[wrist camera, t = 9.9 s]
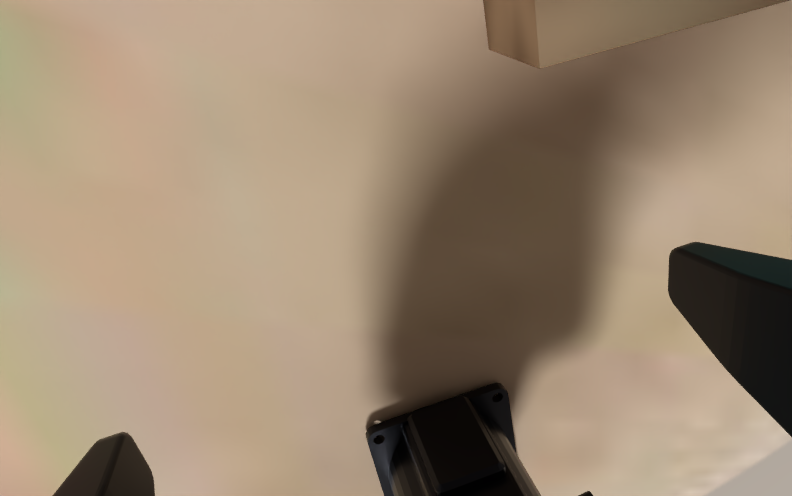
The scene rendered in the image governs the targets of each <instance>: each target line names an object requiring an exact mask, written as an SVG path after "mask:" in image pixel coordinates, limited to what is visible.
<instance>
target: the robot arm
mask: <svg viewBox="0 0 792 496" xmlns="http://www.w3.org/2000/svg"><path fill="white" fill-rule="evenodd" d="M668 292H669V296H670V298H671V300H672V302H673V304H674V305H675V306H676V308H677V309H678V310H679V311H680V313H681V314H682V315H683V316H684V318H685V319H686V320H687V321H688V323H689V324H690V325H691V326H692V328H693V329H694V330H695V331H696V333H697V334H698V335H699V336H700V338H701V339H702V340H703V341H704V343H705V344H706V345H707V347H708V348H709V349H710V350H711V352H712V353H713V354H714V355H715V357H716V358H717V359H718V360H719V361H720V363H721V364H722V365H723V366H724V367H725V369H726V370H727V371H728V372H729V373H730V374H731V375H732V376H733V377H734V378H735V379H736V381H737V382H738V383H739V384H740V385H741V386H742V387H743V388H744V389H745V390H746V391H747V392H748V393H749V394H750V395H751V396H752V397H753V398H754V399H755V400H756V401H757V402H758V403H759V404H760V405H761V406H762V407H763V408H764V409H765V410H766V411H767V412H768V413H769V414H770V415H771V416H772V417H773V418H774V419H775V420H776V421H777V422H778V424H779V425H780V426H781V427H782V428H783V429H784V430H785V431H786V432H787V433H788V434H789V435H790V436H791V437H792V260H789V259H784V258H778V257H773V256H768V255H763V254H758V253H752V252H747V251H742V250H737V249H731V248H726V247H721V246H716V245H711V244H705V243H700V242H692V243H689V244H686V245H683V246H680V247H677V248H675V249H673V250H672V251H671V253H670V256H669V278H668ZM497 393H498V394H497ZM495 394H497V395H496V396H494V395H495ZM378 435H381V436H380V437H377V438H375V437H376V436H378ZM366 438H367V442H368V445H369V448H370V451H371V455H372V458H373V461H374V464H375V467H376V471H377V474H378V477H379V480H380V483H381V487H382V490H383V493H384V496H541V495H540V493H539V491H538V490H537V488H536V486H535V485H534V483H533V481H532V479H531V478H530V476H529V474H528V473H527V471H526V469H525V468H524V466H523V464H522V462H521V461H520V459H519V457H518V456H517V454H516V448H515V441H514V434H513V427H512V419H511V412H510V405H509V398H508V393H507V391H506V389H505V388H504V386H503V385H502V384H500V383H493V384H490V385H487V386H485V387H482V388H479V389H476V390H473V391H470V392H467V393H465V394H462V395H459V396H456V397H453V398H450V399H447V400H445V401H442V402H439V403H436V404H433V405H430V406H427V407H425V408H422V409H419V410H416V411H413V412H410V413H407V414H405V415H402V416H399V417H396V418H393V419H390V420H387V421H385V422H382V423H379V424H376V425H374V426H372V427H370V428H369V429H368V430H367V432H366ZM53 496H155V491H154V480H153V475H152V472H151V469H150V467H149V465H148V464H147V462H146V460H145V459H144V457H143V455H142V454H141V452H140V450H139V448H138V447H137V445H136V443H135V442H134V440H133V438H132V437H131V436H130V435H129V434H128V433H125V432H121V433H118V434H115V435H112V436H109V437H106V438H103V439H100V440H98V441H97V442H96V443H95V444H94V445H93V446H92V447H91V448H90V450H89V451H88V452H87V453H86V455H85V456H84V457H83V458H82V460H81V461H80V462H79V463H78V465H77V466H76V467H75V468H74V470H73V471H72V472H71V473H70V475H69V476H68V477H67V478H66V480H65V481H64V482H63V483H62V485H61V486H60V487H59V488H58V490H57V491H56V492H55V493H54V495H53ZM579 496H593V495H592V494H591V492H590V491H587V492H585V493H583V494H581V495H579Z"/></svg>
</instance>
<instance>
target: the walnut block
mask: <svg viewBox="0 0 792 496" xmlns="http://www.w3.org/2000/svg"><path fill="white" fill-rule="evenodd" d="M785 1H789V0H483V2H484V10H485V19H486V28H487V37H488V45H489V50H492V51H495V52H497V53H500V54H502V55H505V56H508V57H510V58H513V59H516V60H518V61H521V62H523V63H526V64H529V65H531V66H534V67H537V68H539V69H541V68H545V67H548V66H552V65H555V64H559V63H563V62H566V61H570V60H574V59H577V58H581V57H585V56H588V55H592V54H596V53H599V52H603V51H606V50H610V49H614V48H617V47H621V46H625V45H628V44H632V43H636V42H639V41H643V40H647V39H650V38H654V37H658V36H661V35H665V34H668V33H672V32H676V31H679V30H683V29H687V28H690V27H694V26H698V25H701V24H705V23H709V22H712V21H716V20H719V19H723V18H727V17H730V16H734V15H738V14H741V13H745V12H749V11H752V10H756V9H760V8H763V7H767V6H771V5H774V4H778V3H781V2H785Z"/></svg>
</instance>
